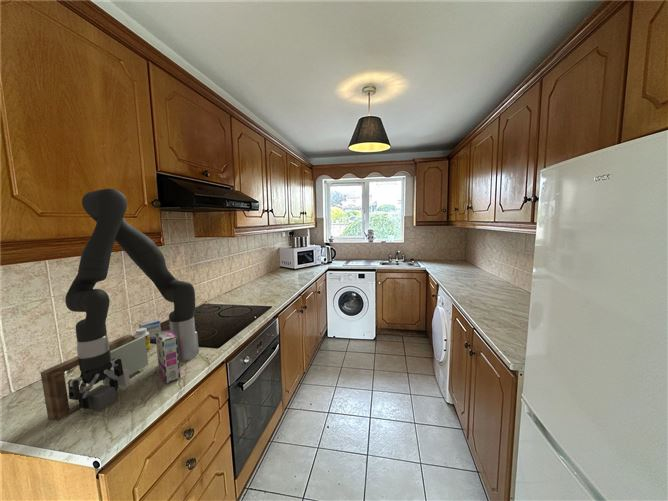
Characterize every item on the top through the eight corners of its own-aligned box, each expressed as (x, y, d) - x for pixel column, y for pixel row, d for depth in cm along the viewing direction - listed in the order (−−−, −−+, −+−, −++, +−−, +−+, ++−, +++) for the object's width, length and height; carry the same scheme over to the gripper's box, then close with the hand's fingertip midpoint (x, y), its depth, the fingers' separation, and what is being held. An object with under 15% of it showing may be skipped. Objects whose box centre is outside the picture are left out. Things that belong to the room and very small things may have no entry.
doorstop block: (103, 398, 90) (101, 384, 90) (116, 401, 89) (114, 387, 88) (86, 409, 86) (84, 394, 85) (100, 412, 84) (98, 397, 83)
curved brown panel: (131, 370, 106) (127, 334, 105) (140, 372, 105) (136, 335, 103) (48, 418, 82) (40, 372, 80) (58, 421, 80) (51, 374, 79)
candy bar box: (181, 378, 101) (177, 336, 99) (166, 384, 97) (161, 341, 95) (173, 367, 109) (169, 328, 107) (158, 372, 105) (154, 332, 103)
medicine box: (143, 342, 131) (141, 325, 130) (140, 340, 133) (138, 323, 132) (161, 337, 137) (160, 320, 136) (158, 334, 140) (156, 318, 138)
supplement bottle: (142, 354, 119) (139, 332, 118) (132, 353, 121) (130, 331, 119) (153, 348, 124) (151, 327, 123) (144, 347, 126) (142, 326, 125)
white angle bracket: (146, 364, 109) (142, 336, 108) (162, 366, 107) (159, 338, 106) (103, 388, 94) (99, 356, 92) (121, 392, 92) (117, 358, 90)
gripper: (108, 340, 93) (114, 384, 95) (57, 361, 79) (64, 412, 81) (125, 342, 91) (130, 387, 93) (76, 364, 77) (83, 416, 79)
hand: (100, 399), depth 87 cm, fingers open, 8 cm apart
